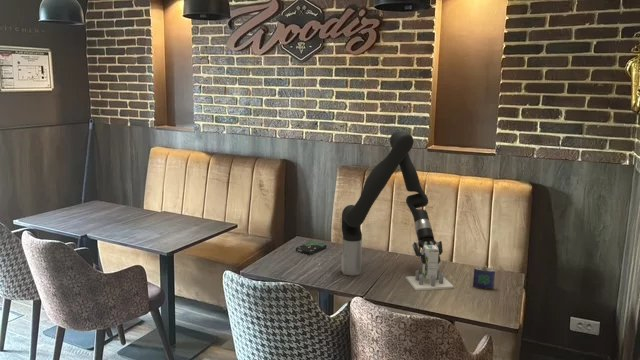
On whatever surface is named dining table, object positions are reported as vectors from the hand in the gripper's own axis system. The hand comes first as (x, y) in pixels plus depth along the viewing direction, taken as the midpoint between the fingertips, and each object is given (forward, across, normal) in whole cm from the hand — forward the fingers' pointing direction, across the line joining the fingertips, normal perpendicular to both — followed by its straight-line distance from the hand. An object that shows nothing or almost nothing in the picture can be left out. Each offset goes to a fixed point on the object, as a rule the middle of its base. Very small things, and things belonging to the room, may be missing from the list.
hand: (431, 263), depth 240 cm
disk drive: (-30, -48, +46) cm, 73 cm away
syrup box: (+4, 0, +7) cm, 8 cm away
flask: (+12, +23, +3) cm, 26 cm away
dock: (+6, 0, +9) cm, 11 cm away
